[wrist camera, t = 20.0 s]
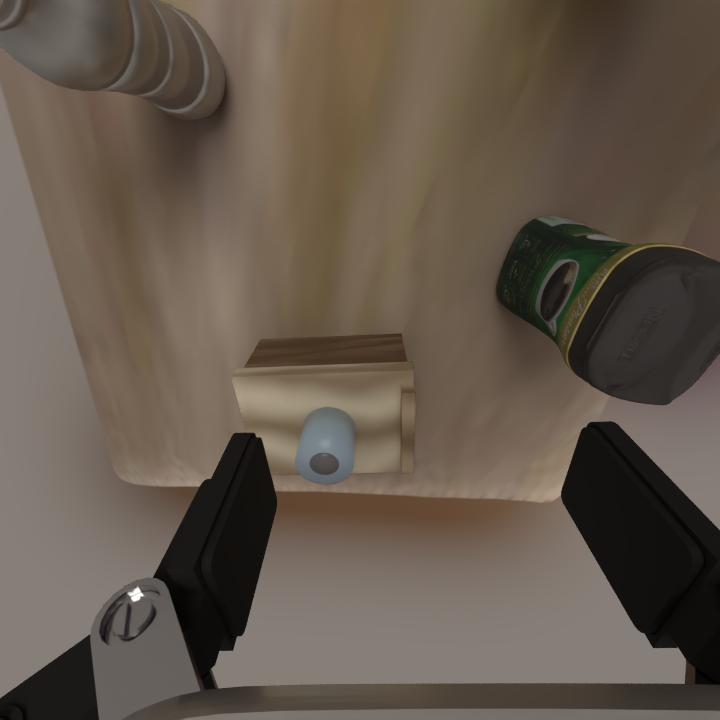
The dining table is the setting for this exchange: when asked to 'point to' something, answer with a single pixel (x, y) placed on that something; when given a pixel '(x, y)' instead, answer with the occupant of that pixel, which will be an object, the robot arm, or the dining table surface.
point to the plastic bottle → (118, 50)
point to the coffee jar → (616, 306)
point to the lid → (337, 390)
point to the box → (328, 351)
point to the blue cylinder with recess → (326, 446)
